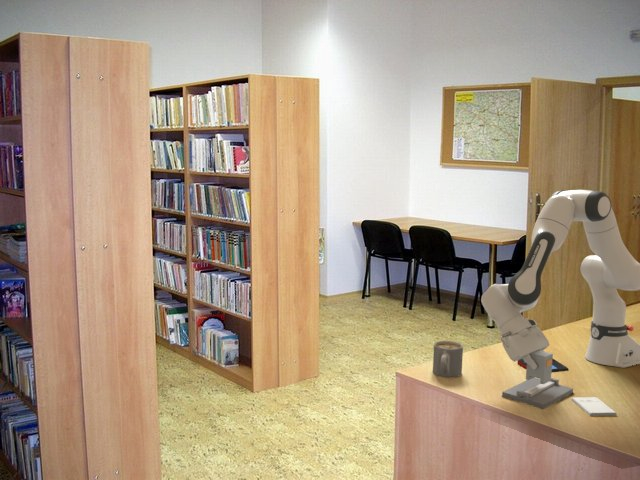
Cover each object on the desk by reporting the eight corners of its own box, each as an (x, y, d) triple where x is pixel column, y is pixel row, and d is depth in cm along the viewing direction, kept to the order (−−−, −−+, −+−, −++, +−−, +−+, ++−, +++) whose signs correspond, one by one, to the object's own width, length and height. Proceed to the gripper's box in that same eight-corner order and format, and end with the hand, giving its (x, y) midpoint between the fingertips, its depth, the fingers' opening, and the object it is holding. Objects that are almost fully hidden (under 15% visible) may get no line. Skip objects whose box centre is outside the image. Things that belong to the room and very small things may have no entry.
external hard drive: (589, 418, 202) (571, 401, 214) (616, 417, 202) (596, 401, 214) (590, 412, 201) (571, 396, 214) (616, 412, 202) (597, 396, 214)
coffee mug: (439, 366, 244) (440, 339, 242) (465, 371, 238) (467, 344, 237) (423, 376, 233) (425, 348, 231) (451, 382, 227) (452, 353, 226)
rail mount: (533, 381, 230) (533, 372, 229) (572, 392, 220) (573, 383, 219) (502, 396, 216) (502, 387, 215) (543, 409, 206) (543, 399, 205)
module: (533, 375, 221) (535, 349, 220) (551, 381, 216) (553, 353, 215) (525, 379, 217) (527, 352, 216) (544, 384, 213) (546, 357, 212)
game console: (535, 375, 237) (535, 369, 237) (514, 363, 249) (514, 357, 249) (569, 371, 242) (570, 365, 241) (547, 360, 254) (547, 354, 253)
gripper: (505, 330, 212) (532, 368, 207) (537, 319, 226) (563, 354, 221) (492, 340, 216) (517, 378, 210) (524, 329, 230) (549, 364, 225)
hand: (541, 365), depth 216 cm, fingers closed on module, 5 cm apart
